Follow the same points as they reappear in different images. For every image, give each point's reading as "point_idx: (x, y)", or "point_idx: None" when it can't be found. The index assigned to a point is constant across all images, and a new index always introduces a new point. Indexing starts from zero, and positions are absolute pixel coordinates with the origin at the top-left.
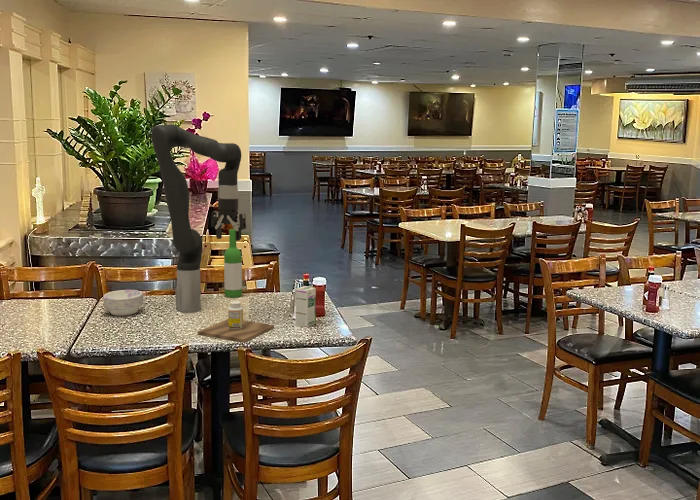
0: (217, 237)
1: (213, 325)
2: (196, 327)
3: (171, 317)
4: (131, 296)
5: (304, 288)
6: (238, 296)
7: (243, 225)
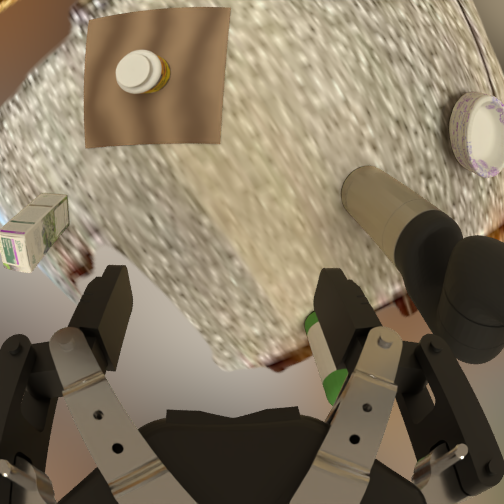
0: (335, 270)
1: (221, 65)
2: (270, 58)
3: (374, 118)
4: (480, 163)
5: (8, 245)
6: (307, 318)
7: (38, 404)
